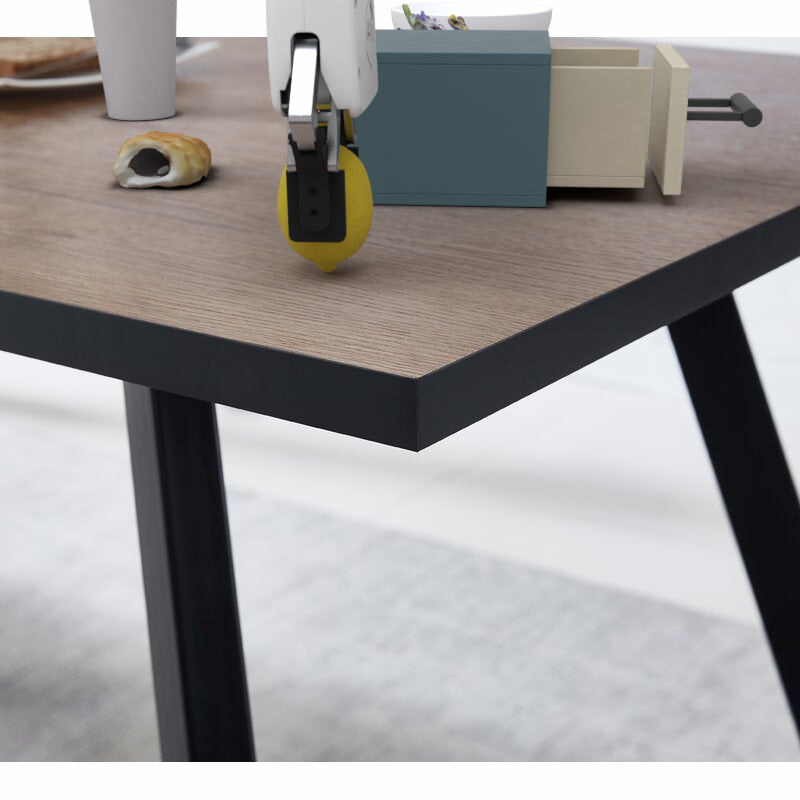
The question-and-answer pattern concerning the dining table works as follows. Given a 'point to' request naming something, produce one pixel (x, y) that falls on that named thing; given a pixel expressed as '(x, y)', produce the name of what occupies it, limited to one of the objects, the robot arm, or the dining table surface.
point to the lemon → (356, 216)
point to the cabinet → (458, 118)
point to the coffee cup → (137, 56)
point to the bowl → (479, 14)
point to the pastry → (162, 160)
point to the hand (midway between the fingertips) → (325, 223)
